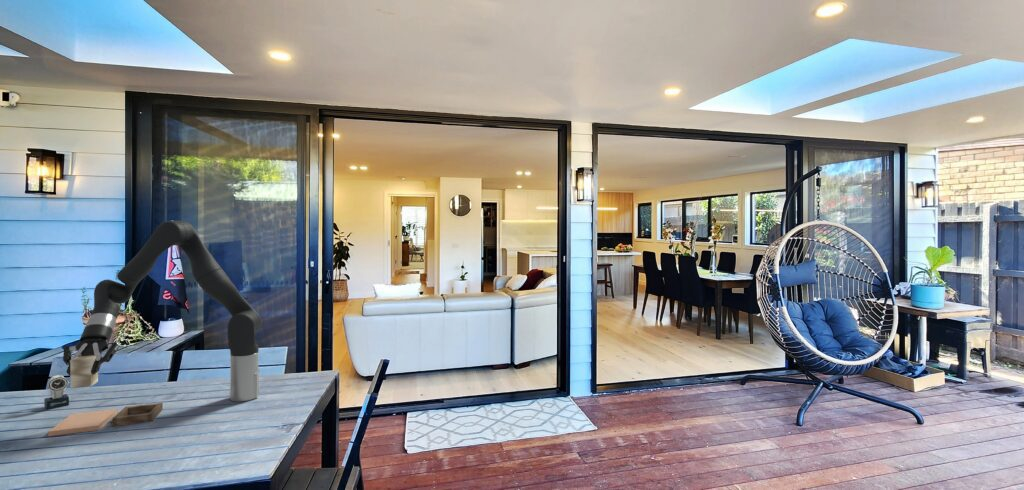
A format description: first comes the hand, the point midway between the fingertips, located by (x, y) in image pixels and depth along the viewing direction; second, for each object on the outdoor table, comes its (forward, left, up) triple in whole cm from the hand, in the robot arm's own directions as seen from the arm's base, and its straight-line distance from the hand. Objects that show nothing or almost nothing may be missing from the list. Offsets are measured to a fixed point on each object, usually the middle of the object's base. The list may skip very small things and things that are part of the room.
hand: (81, 373), depth 140 cm
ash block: (0, -2, -4) cm, 5 cm away
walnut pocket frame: (-14, -2, -17) cm, 22 cm away
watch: (+16, -24, -17) cm, 33 cm away
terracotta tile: (0, -2, -17) cm, 17 cm away
